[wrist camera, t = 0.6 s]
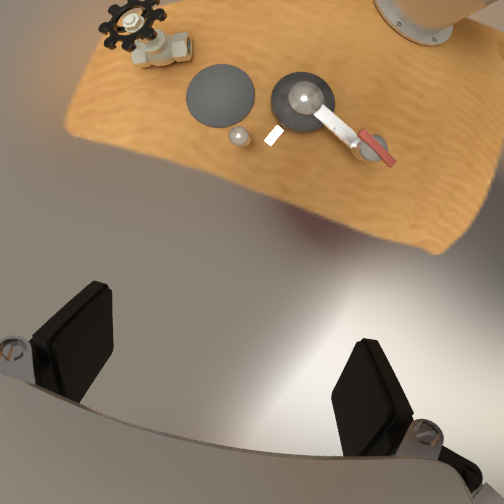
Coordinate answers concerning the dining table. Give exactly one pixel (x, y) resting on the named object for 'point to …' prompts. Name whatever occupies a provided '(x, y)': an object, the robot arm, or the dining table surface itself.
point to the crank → (337, 124)
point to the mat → (220, 95)
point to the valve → (146, 35)
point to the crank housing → (288, 110)
